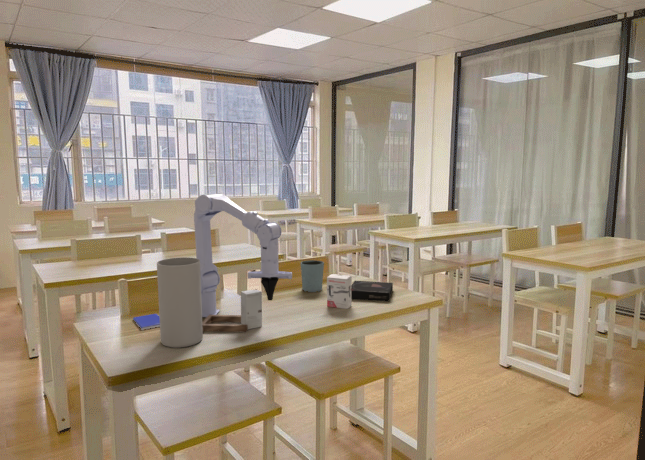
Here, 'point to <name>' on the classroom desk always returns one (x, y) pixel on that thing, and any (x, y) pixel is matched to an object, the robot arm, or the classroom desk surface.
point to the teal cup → (312, 275)
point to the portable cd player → (371, 291)
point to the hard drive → (147, 321)
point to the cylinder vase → (180, 301)
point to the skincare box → (251, 308)
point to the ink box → (339, 291)
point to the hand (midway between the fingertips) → (270, 299)
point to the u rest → (224, 327)
